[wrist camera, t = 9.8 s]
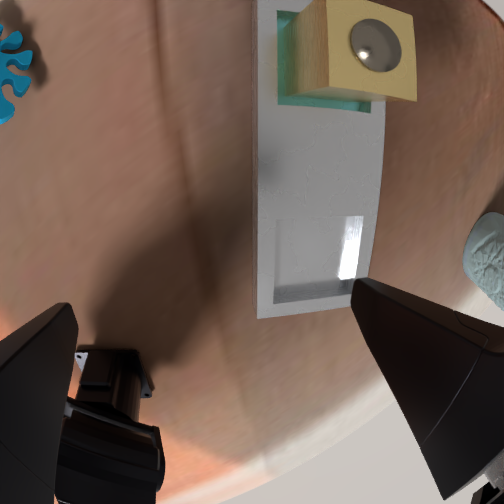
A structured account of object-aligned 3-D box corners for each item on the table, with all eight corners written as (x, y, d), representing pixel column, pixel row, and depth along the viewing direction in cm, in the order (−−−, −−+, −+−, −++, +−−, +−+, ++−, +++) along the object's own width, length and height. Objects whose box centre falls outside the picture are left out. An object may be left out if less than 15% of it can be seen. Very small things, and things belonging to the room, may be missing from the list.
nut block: (353, 102, 18) (419, 101, 12) (284, 96, 18) (330, 86, 11) (351, 38, 16) (414, 15, 10) (283, 27, 16) (327, -12, 9)
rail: (351, 292, 26) (361, 304, 24) (252, 304, 25) (257, 318, 23) (368, 22, 17) (382, 16, 15) (251, 3, 15) (257, -7, 13)
